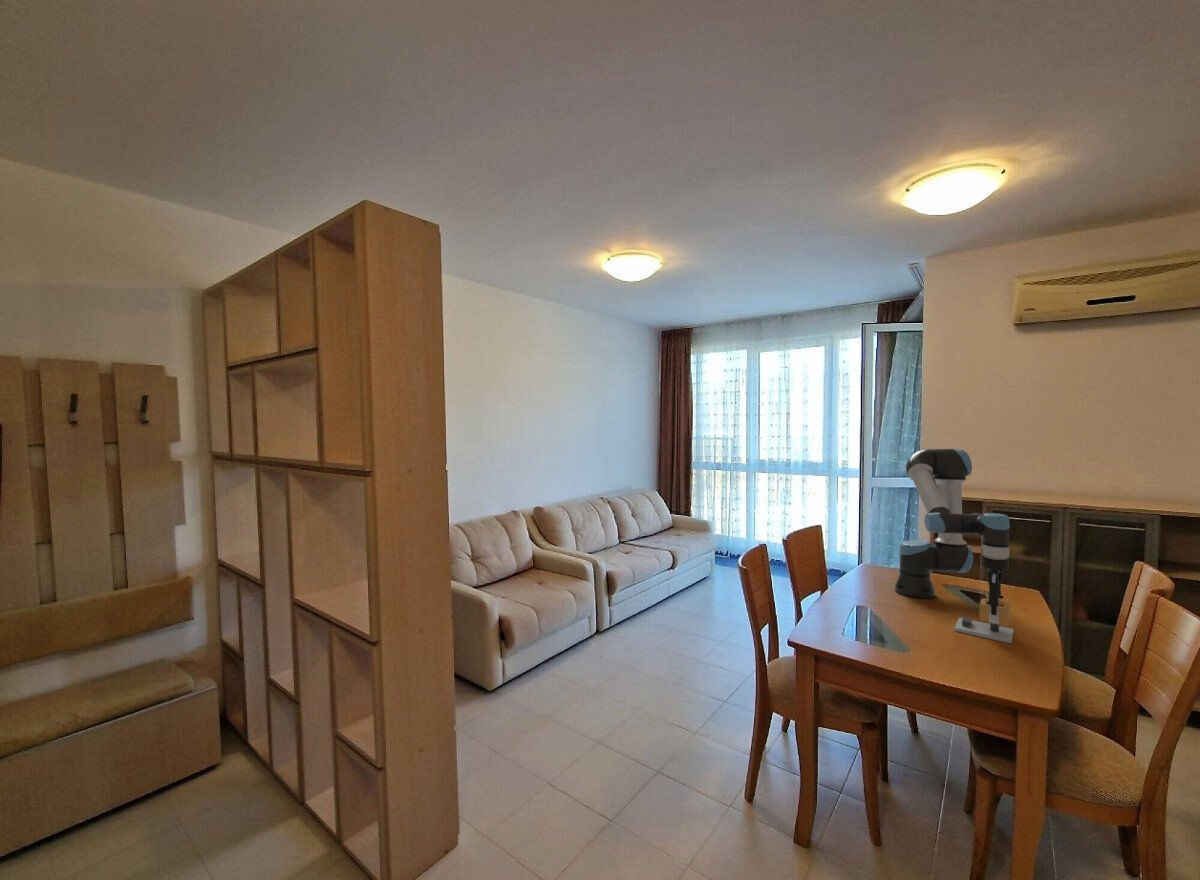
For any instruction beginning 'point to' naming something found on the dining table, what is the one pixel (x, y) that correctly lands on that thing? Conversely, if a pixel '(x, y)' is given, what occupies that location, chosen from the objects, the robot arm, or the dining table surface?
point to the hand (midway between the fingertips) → (994, 619)
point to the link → (1003, 612)
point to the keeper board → (984, 629)
